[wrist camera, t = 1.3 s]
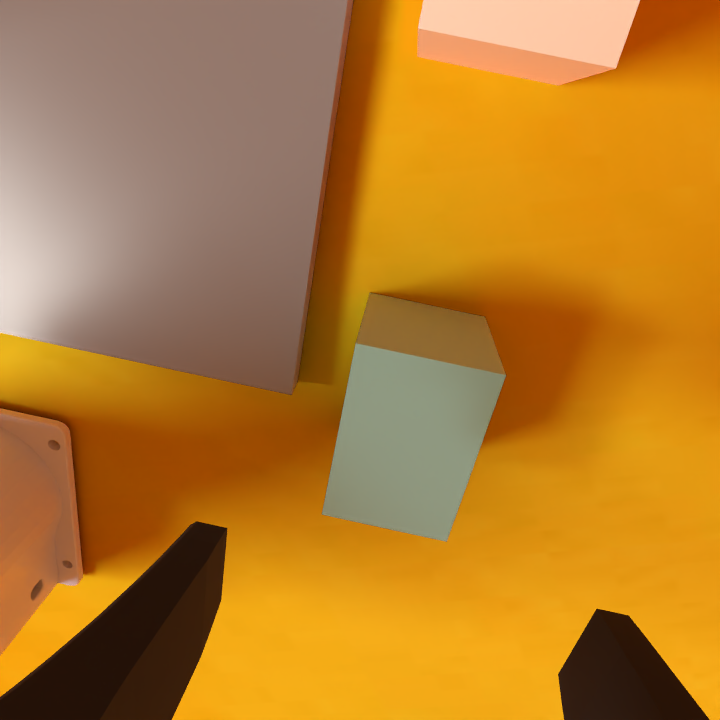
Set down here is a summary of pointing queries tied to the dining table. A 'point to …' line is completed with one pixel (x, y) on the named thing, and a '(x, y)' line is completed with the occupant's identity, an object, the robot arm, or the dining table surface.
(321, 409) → the dining table surface
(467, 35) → the cream brick
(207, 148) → the baseplate
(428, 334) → the teal brick
